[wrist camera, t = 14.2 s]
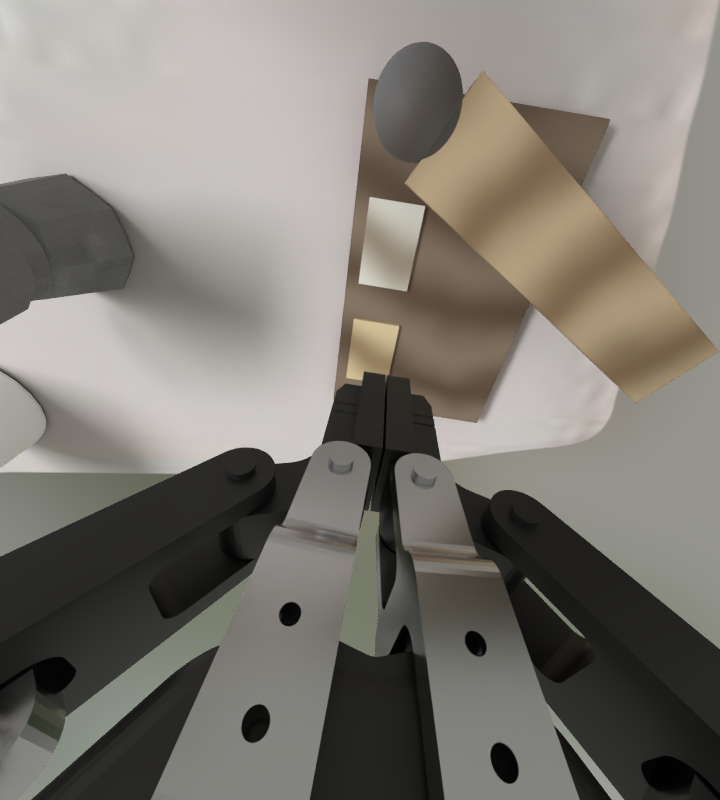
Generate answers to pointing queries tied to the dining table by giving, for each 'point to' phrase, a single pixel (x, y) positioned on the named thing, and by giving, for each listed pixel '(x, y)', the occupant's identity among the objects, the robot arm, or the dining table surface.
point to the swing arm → (532, 220)
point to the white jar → (18, 419)
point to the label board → (435, 277)
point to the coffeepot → (57, 243)
